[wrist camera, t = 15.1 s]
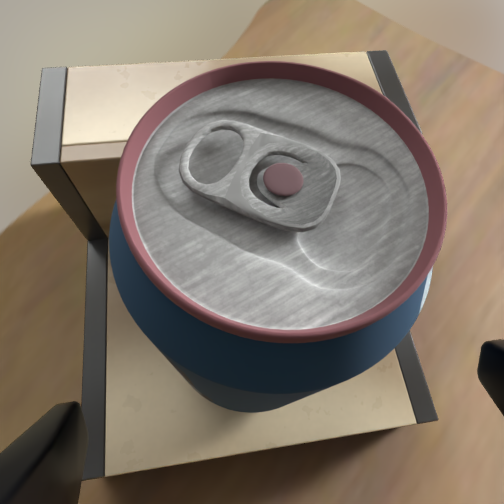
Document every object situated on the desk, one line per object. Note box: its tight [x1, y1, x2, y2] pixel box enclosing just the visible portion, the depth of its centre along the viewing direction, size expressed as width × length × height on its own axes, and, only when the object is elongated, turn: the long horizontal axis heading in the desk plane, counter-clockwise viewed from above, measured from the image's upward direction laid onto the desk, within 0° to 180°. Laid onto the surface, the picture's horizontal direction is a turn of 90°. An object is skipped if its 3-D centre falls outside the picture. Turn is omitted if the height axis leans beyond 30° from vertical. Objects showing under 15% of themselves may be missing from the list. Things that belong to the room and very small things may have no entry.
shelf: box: [31, 50, 438, 481], centre depth 17 cm, size 16×15×9 cm
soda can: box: [109, 61, 447, 413], centre depth 12 cm, size 7×7×12 cm
